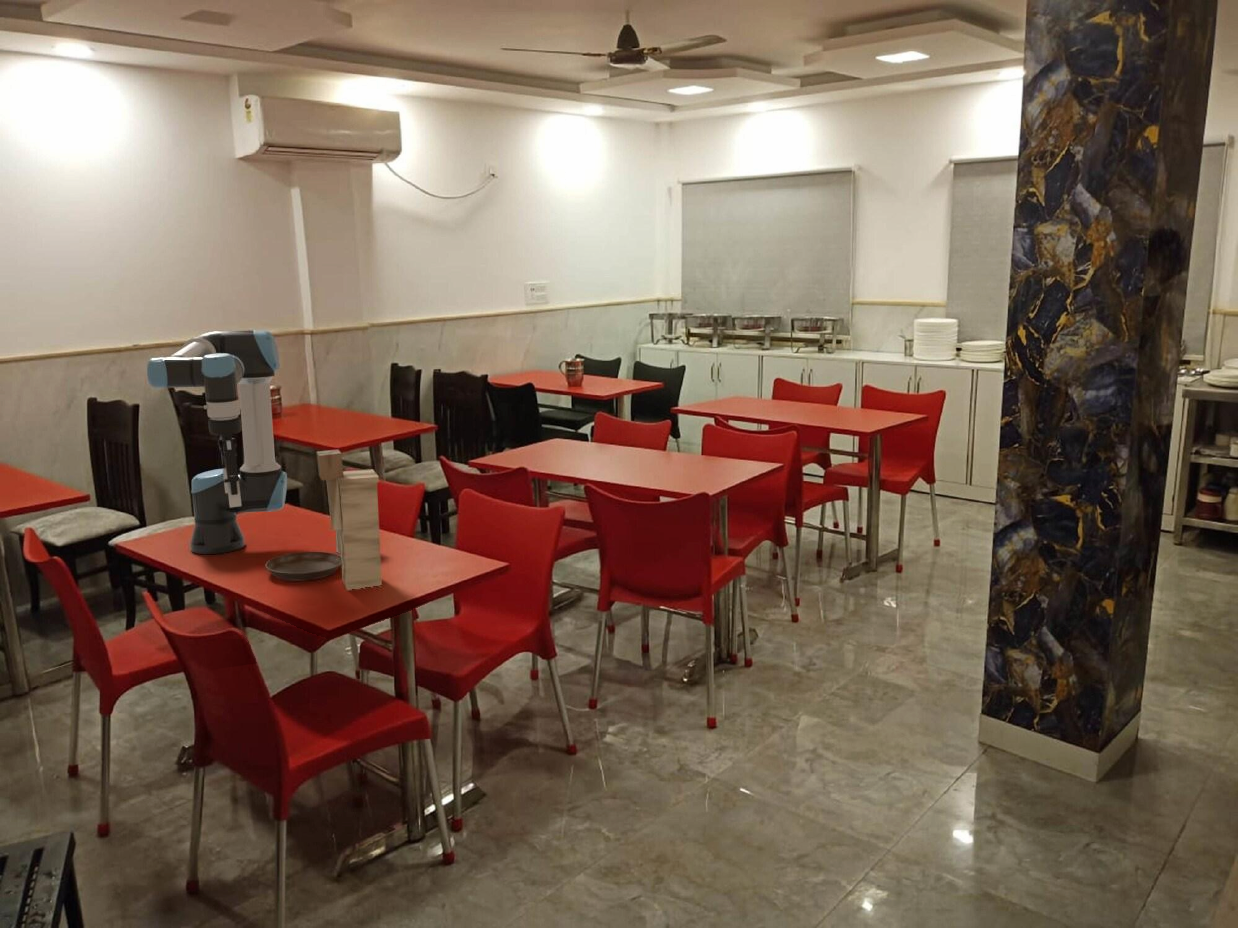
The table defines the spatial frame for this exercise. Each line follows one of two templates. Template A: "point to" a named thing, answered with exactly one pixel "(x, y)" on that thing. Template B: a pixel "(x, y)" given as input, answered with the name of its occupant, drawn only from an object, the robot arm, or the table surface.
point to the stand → (359, 529)
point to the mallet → (332, 482)
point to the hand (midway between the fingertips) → (233, 499)
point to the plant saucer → (304, 565)
